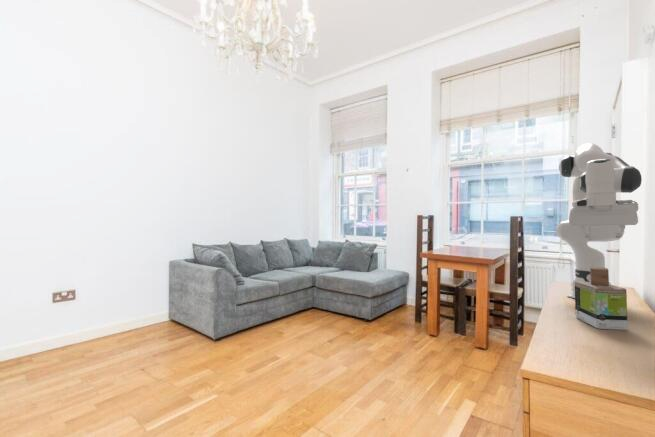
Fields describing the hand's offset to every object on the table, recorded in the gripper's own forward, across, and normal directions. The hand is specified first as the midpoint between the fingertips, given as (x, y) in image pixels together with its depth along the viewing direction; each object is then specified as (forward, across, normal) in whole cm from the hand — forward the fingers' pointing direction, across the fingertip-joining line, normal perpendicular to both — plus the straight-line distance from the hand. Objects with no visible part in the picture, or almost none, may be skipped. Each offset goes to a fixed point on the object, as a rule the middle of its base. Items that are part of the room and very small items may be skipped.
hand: (602, 237), depth 125 cm
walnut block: (+18, +1, +2) cm, 18 cm away
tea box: (+33, +2, +3) cm, 33 cm away
